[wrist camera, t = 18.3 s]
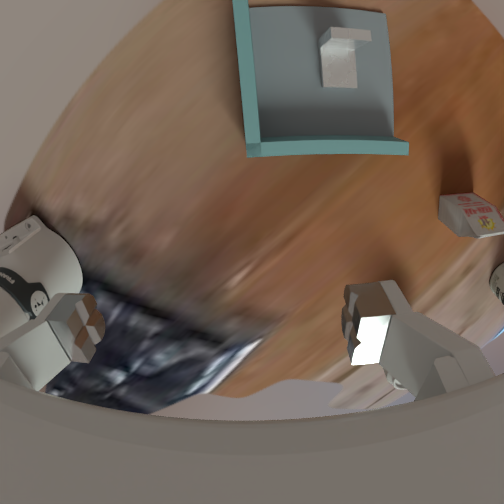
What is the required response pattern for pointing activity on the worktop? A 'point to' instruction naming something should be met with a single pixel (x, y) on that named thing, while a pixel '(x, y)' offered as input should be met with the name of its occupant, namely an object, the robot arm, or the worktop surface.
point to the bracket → (340, 56)
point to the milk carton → (470, 215)
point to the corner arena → (312, 84)
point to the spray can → (498, 282)
